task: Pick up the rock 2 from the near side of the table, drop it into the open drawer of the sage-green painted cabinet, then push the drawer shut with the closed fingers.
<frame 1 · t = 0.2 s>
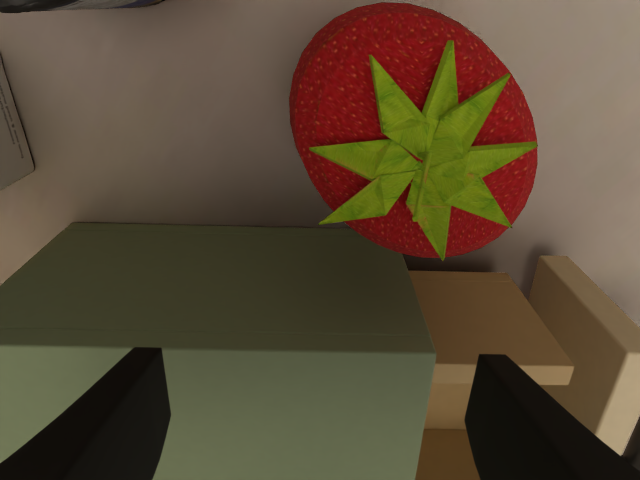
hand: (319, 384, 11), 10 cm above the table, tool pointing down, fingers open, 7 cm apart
cabinet: (240, 336, 23), on the table
drawer: (466, 402, 19), point 4 cm above the table, slide at 6.0 cm
strawberry: (385, 102, 18), on the table
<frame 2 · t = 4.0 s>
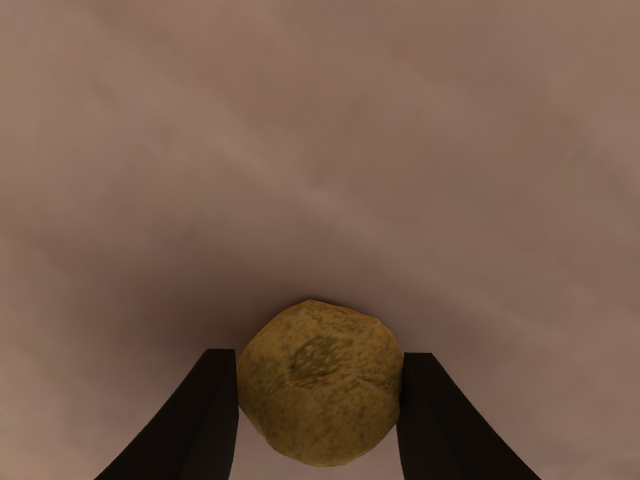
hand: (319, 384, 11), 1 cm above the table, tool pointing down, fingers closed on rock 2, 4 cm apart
rock 2: (315, 340, 12), on the table, touching gripper
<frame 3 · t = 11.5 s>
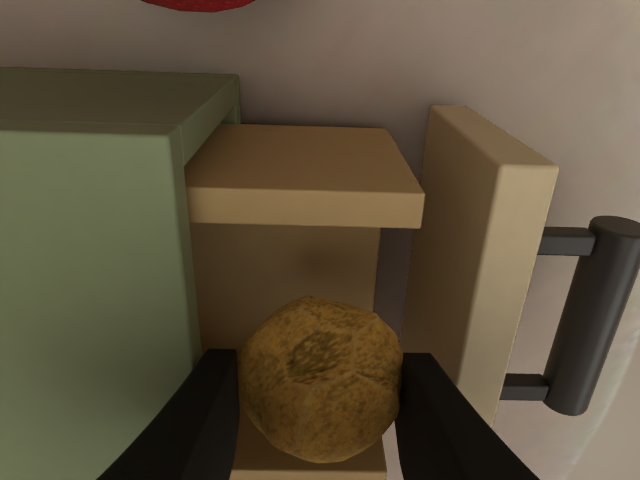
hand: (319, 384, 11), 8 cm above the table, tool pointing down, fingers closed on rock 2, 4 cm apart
cabinet: (61, 233, 18), on the table
drawer: (325, 299, 14), point 4 cm above the table, slide at 6.0 cm
rock 2: (314, 336, 12), point 6 cm above the table, touching gripper
when the fingers open (9 cm above the table, at t = 14.8 s): rock 2 drops 5 cm, resting on drawer.
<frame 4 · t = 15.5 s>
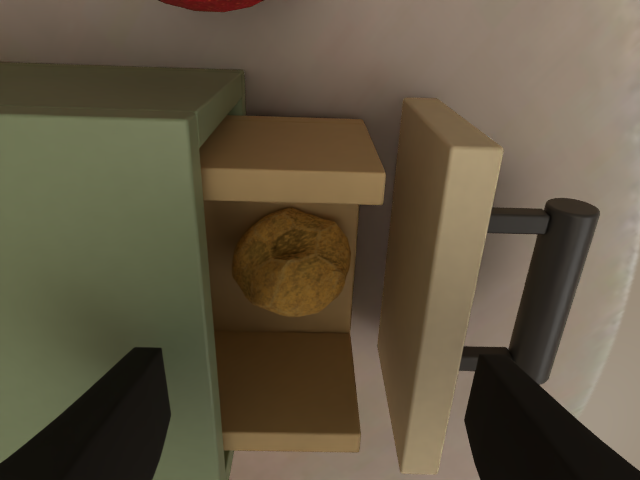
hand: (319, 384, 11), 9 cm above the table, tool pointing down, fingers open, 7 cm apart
cabinet: (77, 219, 19), on the table
drawer: (305, 277, 15), point 4 cm above the table, slide at 5.4 cm, touching rock 2
rock 2: (290, 243, 17), point 2 cm above the table, touching drawer
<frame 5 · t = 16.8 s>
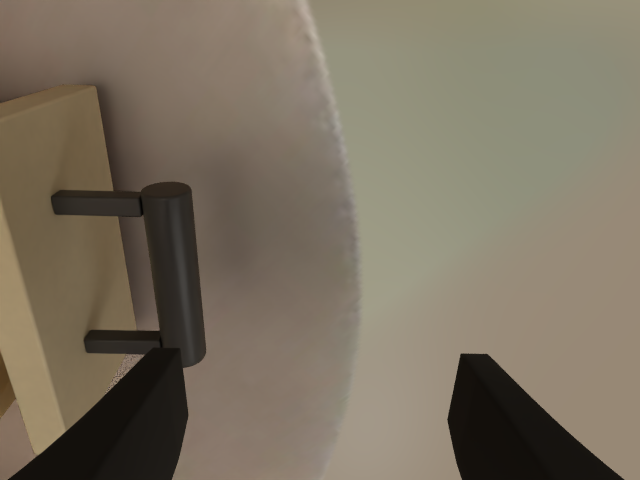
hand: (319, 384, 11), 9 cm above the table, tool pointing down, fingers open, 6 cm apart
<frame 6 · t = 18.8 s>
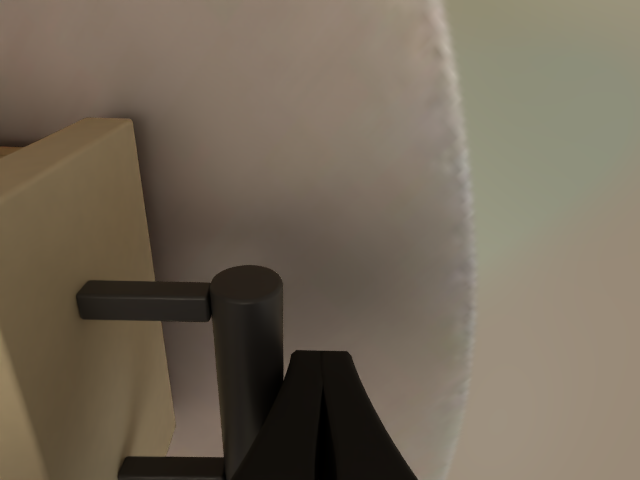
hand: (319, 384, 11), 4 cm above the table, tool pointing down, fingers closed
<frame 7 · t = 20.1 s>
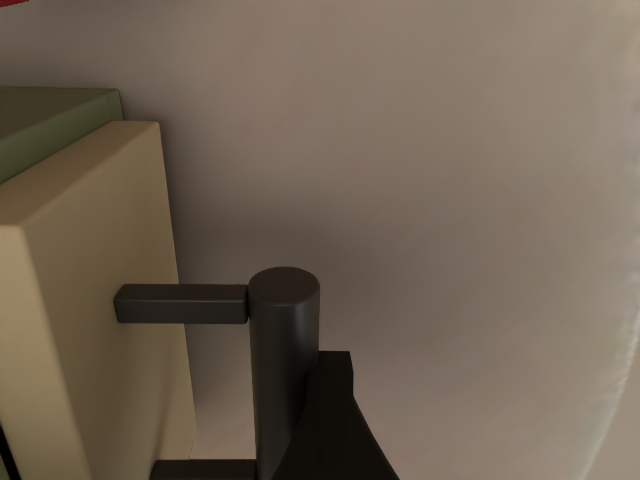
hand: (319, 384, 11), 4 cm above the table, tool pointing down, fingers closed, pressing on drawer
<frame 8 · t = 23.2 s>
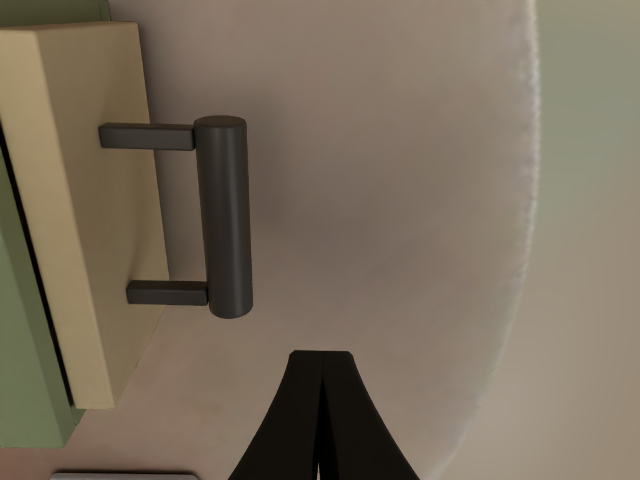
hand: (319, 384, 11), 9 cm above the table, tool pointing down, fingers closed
rock 2: (8, 178, 17), point 2 cm above the table, touching drawer
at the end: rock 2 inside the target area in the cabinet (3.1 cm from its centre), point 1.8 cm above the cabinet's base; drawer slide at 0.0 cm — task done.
